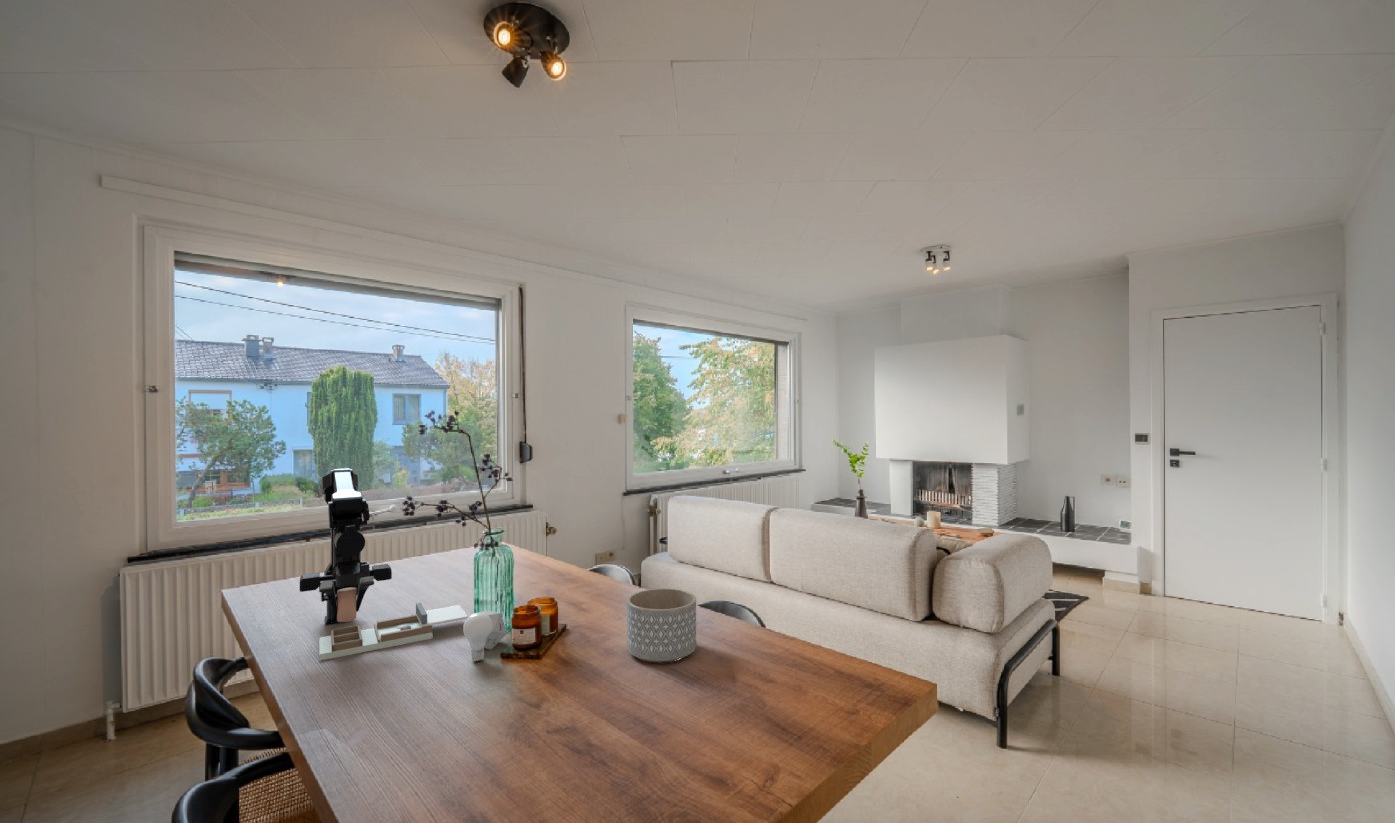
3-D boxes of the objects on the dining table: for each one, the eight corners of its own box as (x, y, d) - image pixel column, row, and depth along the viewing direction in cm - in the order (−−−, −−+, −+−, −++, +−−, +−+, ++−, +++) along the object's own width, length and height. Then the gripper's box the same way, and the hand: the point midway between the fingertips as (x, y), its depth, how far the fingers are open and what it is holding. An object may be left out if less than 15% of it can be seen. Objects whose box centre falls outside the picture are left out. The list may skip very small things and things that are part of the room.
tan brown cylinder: (336, 618, 139) (336, 589, 139) (356, 614, 141) (356, 586, 141) (337, 623, 135) (337, 593, 135) (356, 619, 138) (357, 590, 138)
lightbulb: (456, 663, 131) (456, 615, 131) (479, 653, 136) (479, 606, 136) (476, 669, 128) (476, 619, 128) (498, 658, 133) (498, 611, 133)
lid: (415, 614, 154) (415, 603, 154) (459, 606, 160) (459, 596, 160) (422, 627, 145) (422, 615, 145) (467, 618, 151) (467, 607, 151)
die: (470, 659, 135) (497, 624, 135) (453, 632, 139) (478, 599, 140) (495, 659, 142) (521, 625, 142) (478, 634, 147) (502, 602, 147)
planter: (665, 673, 126) (665, 615, 126) (613, 654, 136) (613, 600, 136) (709, 648, 139) (709, 596, 139) (658, 633, 149) (658, 584, 149)
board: (319, 643, 142) (319, 631, 142) (425, 624, 156) (425, 612, 156) (319, 660, 132) (319, 647, 132) (432, 638, 146) (432, 626, 146)
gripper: (299, 560, 126) (298, 631, 126) (394, 549, 137) (394, 614, 137) (300, 550, 136) (300, 616, 136) (389, 540, 146) (389, 602, 146)
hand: (346, 612), depth 138 cm, fingers closed on tan brown cylinder, 4 cm apart
